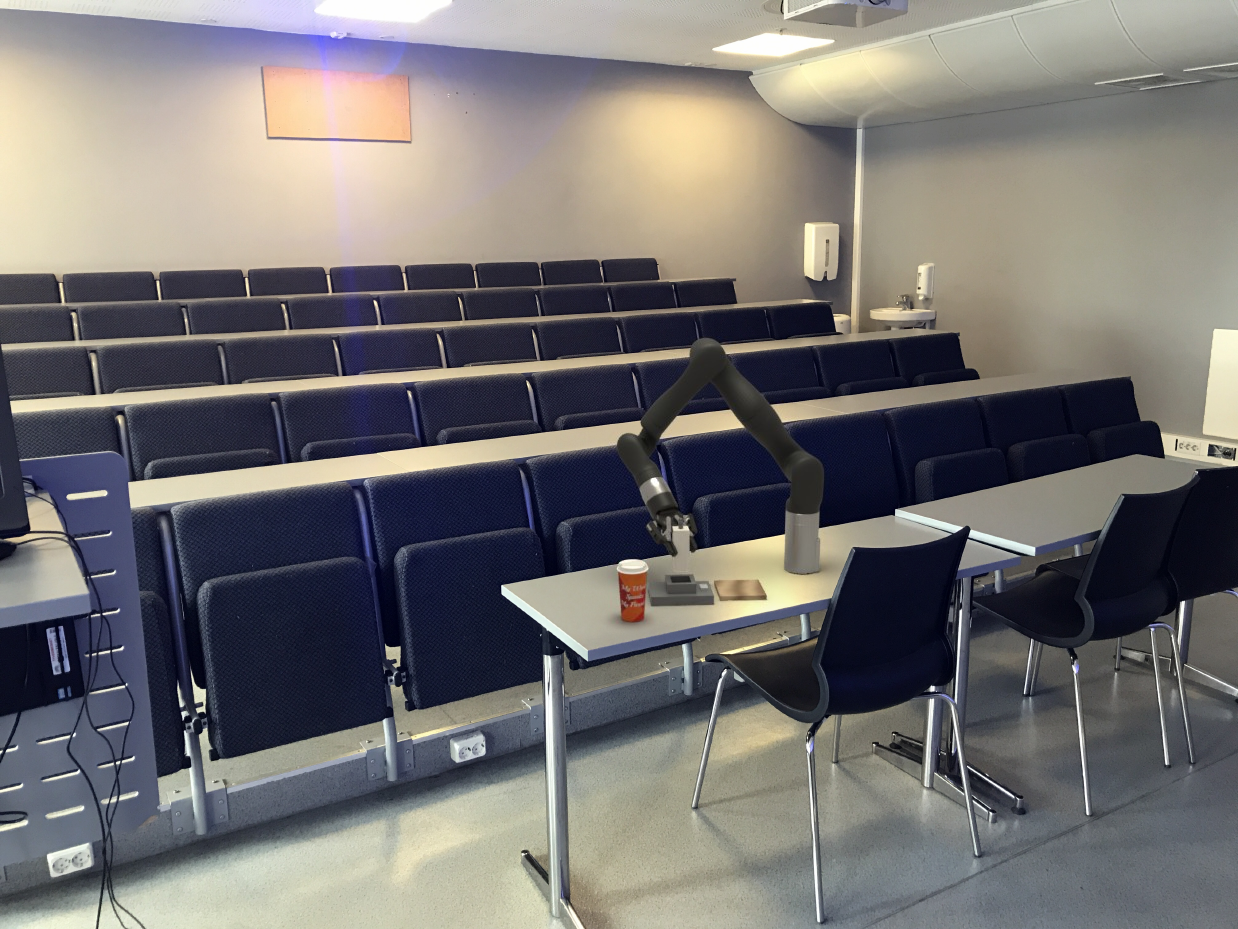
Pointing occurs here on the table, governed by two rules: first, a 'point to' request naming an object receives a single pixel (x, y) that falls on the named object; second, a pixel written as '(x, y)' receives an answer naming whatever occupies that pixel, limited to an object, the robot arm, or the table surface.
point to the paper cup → (632, 589)
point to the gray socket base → (680, 591)
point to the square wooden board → (739, 590)
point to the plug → (681, 547)
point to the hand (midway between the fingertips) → (684, 553)
